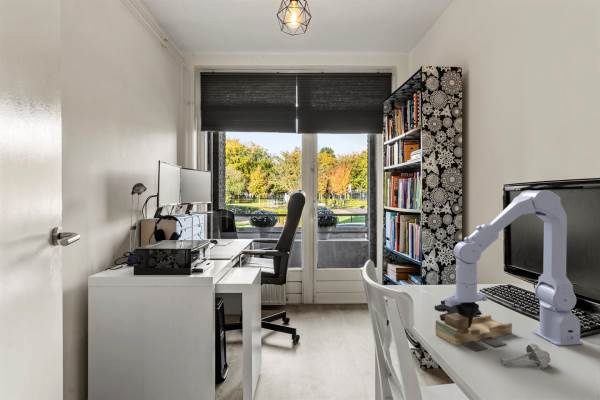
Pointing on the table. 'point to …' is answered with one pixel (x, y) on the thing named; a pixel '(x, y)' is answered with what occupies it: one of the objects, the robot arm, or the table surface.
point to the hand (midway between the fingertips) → (466, 326)
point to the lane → (475, 333)
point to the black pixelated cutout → (450, 310)
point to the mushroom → (532, 356)
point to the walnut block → (457, 322)
